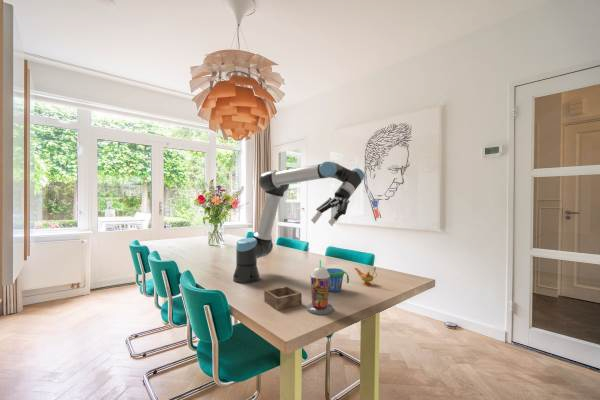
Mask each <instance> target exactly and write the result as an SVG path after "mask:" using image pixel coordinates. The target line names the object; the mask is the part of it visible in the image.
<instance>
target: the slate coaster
mask: <svg viewBox="0 0 600 400" xmlns="http://www.w3.org/2000/svg"><path fill="white" fill-rule="evenodd" d="M307 312H308V313H310V314H312V315H318V316H323V315H324V316H325V315H330V314H332V312H334V307H333V305H332V304H330V303H328V305H327V307H326V308H325V309H316V308H314V307H313V305H312V302H311V303H308V305H307Z"/></svg>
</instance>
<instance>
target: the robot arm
mask: <svg viewBox="0 0 600 400" xmlns="http://www.w3.org/2000/svg"><path fill="white" fill-rule="evenodd" d="M365 176H366V175H365V173H364V171H363V170H362V169H360V168H358V167H354V168H353V169H352V170H351V169H349V168H346V167H345V166H343V165H340V164H339V163H337V162H334V161H324V162H322V163H319V164H317V163H316V164H313V165H307V166H301V167H297V168H296V167H295V168H291V169H286V170H281V171H280V170H279V171H278V170H275V169H274V170H269V171H267V170H266V171H264V172H262V173H261V174H260V176H259V179H258V183H259V186H260V188H261V189H262V190H263V191H264V193H265V200H264V202H263V207H262V211H261V215H260V219H259V222H258V223H259V224H258V228H257V231H256V232H255V233H253V236H252V237H245V238H240V239H239V240H237V242H236V249H235V250H236V253H235V254H236V256H235V257H236V258H235V259H236V260H235V261H236V265H235V266H236V267H235V269H234V272H233V279H232V280H233V282H234V283H235V282H236V283H238V284H248V283H249V284H250V283H254V282H255V283H256V282H258V281H259V280H260V275H261V274H260V273H259V268H258V265H257V264H258V263H257V262H258V261H257V260H258V259H260V258H263V257H266V256H268V255H269V254H271V253H272V252H273V248H274V243H273V241H272V240H273V237H272V235H271V234H272V230H273V228H274V223H275V220H276V219H275V218H276V215H277V211H278V207H279V204H280V199H282V198H283V197H284V195H285V192H286V191H288V189H289V188H290V185H291V184H297V183H302V182H308V181H314V180H320V179H321V180H322V179H328V178H330V179H335V180H338V181H340V182H342V183H341V184H340V186H339V187H338V188H337V190H336V191H334V196H333V198H331V197H329V198H327V200H325V201H324V202H323V203H322V204H321V205H319V206H318V207H316V208H315V210H316V211H317V212H316V213H315V214H314V215H313V216H312V218H311V219H310V221H311V222H312V223H313V224H315V225H316V223H317V221H318V220H319V219H320V218H321V216H322V215H323V213H324V212H326V211H328V210H330V209H331V208H334V207H336V208H337V210H336V211H335V212H334V214H332V215H331V217H330V219H329V220H328V222H327V223H328V224H329V225H330V226H331V227H333V225H334V224H335V223H336V222H337V220H339V218H340V216H341V217H342V216H344V215H346V214H347V210H348V204H349V203H350V200H349V199H350V198H351V196H353V194H354V192H355V191H356V190H357V188H358V187H359V186H360V185H361V184H362V182H363V180H364V179H365Z"/></svg>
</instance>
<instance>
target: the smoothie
mask: <svg viewBox="0 0 600 400" xmlns="http://www.w3.org/2000/svg"><path fill="white" fill-rule="evenodd" d="M326 269H327V268H326V267H324V266H322V260H319V266H317V267H315V268H314V269H313V270H312V271H311V274H310V289H311V303H312V305H313V307H314V308H316V309H325V308H326V307H327V305H328V304H329V293H330V291H329V280H330V275H329V273H328V271H327V270H326Z"/></svg>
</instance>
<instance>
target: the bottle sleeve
mask: <svg viewBox="0 0 600 400" xmlns="http://www.w3.org/2000/svg"><path fill="white" fill-rule="evenodd" d="M263 295H264V296H263V302H265V303H266V304H267V305H269V306H270V307H271V308H273V309H275V310H276V311H281V310H285V309H289V308H292V307H296V306H301V305H302V303H303V302H302V295H303V294H302V292H300V291H298V290H296V289H294V288H292V287H290V286H289V285H286V286H285V285H284V286H280V287H273V288H270V289H264V292H263Z"/></svg>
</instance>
